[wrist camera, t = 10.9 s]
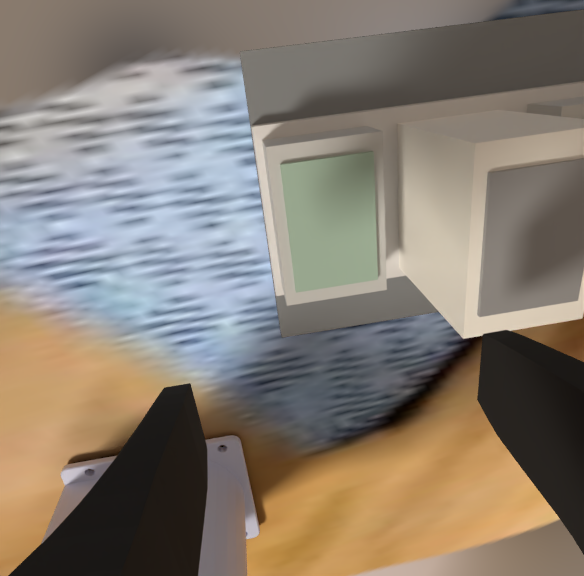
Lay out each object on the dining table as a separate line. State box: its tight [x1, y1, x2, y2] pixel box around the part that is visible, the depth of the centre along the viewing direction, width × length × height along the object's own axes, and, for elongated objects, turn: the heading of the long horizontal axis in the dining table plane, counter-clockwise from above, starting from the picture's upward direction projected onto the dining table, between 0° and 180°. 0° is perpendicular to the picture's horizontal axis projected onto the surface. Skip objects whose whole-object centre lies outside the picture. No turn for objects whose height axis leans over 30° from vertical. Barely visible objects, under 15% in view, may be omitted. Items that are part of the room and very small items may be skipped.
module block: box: [397, 110, 584, 339], centre depth 16 cm, size 4×6×6 cm, turn 7°
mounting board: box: [240, 9, 584, 338], centre depth 18 cm, size 15×12×4 cm
